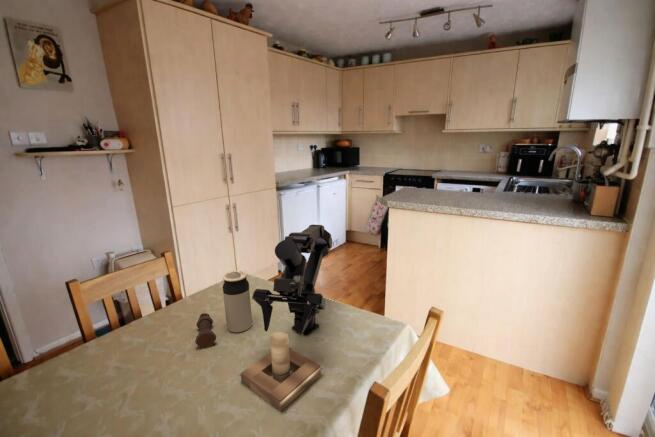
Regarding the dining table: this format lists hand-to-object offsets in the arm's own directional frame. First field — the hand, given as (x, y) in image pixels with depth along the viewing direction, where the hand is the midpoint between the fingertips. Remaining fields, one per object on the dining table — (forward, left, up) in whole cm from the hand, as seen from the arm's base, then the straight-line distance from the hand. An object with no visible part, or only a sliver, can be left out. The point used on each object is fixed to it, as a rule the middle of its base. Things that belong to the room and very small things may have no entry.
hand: (283, 332), depth 78 cm
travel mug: (-6, -27, -12) cm, 30 cm away
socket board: (+2, +1, -11) cm, 12 cm away
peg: (+2, +1, -11) cm, 12 cm away
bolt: (+3, -32, -12) cm, 34 cm away
